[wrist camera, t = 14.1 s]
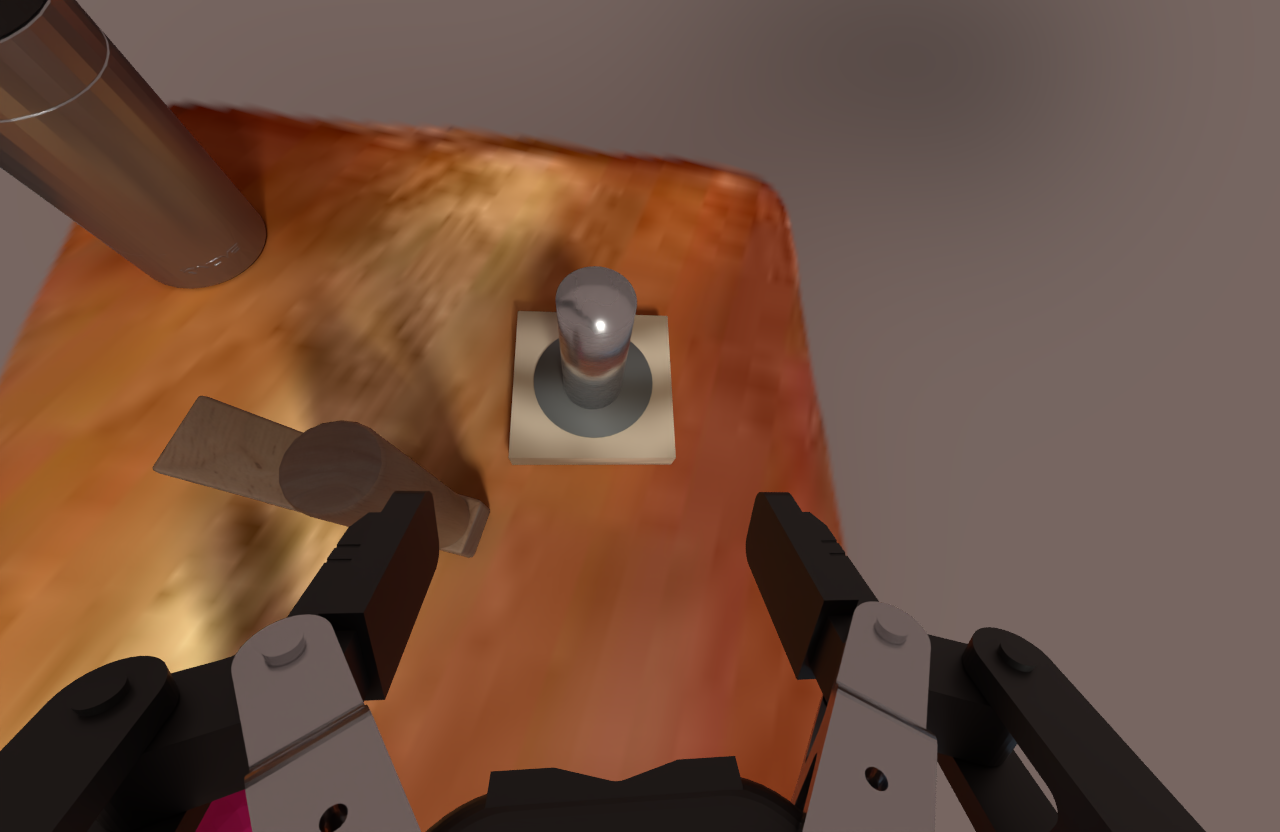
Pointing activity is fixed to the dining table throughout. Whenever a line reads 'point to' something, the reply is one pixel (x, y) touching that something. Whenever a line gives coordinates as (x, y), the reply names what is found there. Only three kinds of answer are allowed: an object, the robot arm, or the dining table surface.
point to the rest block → (586, 436)
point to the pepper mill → (227, 815)
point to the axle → (594, 334)
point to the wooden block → (311, 470)
